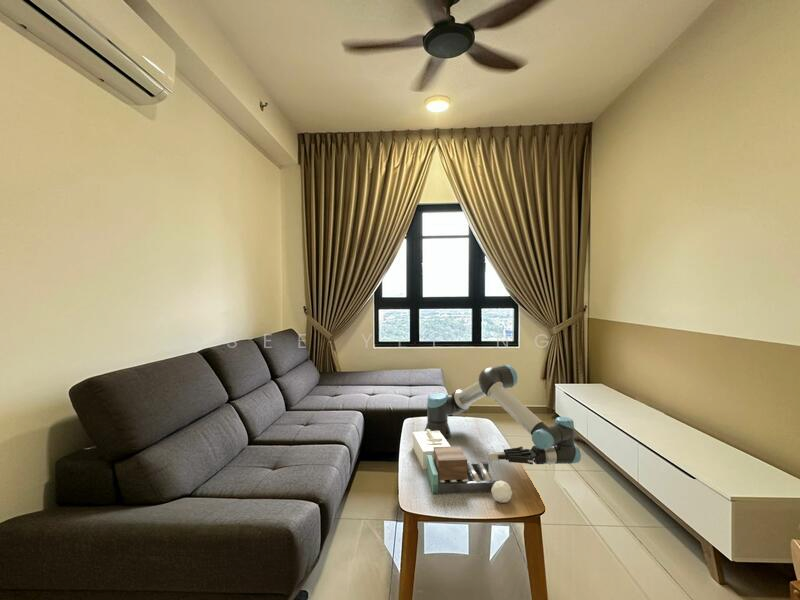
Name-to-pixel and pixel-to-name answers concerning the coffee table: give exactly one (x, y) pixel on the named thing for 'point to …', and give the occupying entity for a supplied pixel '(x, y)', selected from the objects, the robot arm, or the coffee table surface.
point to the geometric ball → (501, 491)
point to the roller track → (467, 485)
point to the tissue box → (427, 444)
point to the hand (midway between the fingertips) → (489, 456)
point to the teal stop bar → (432, 473)
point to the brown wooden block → (450, 463)
